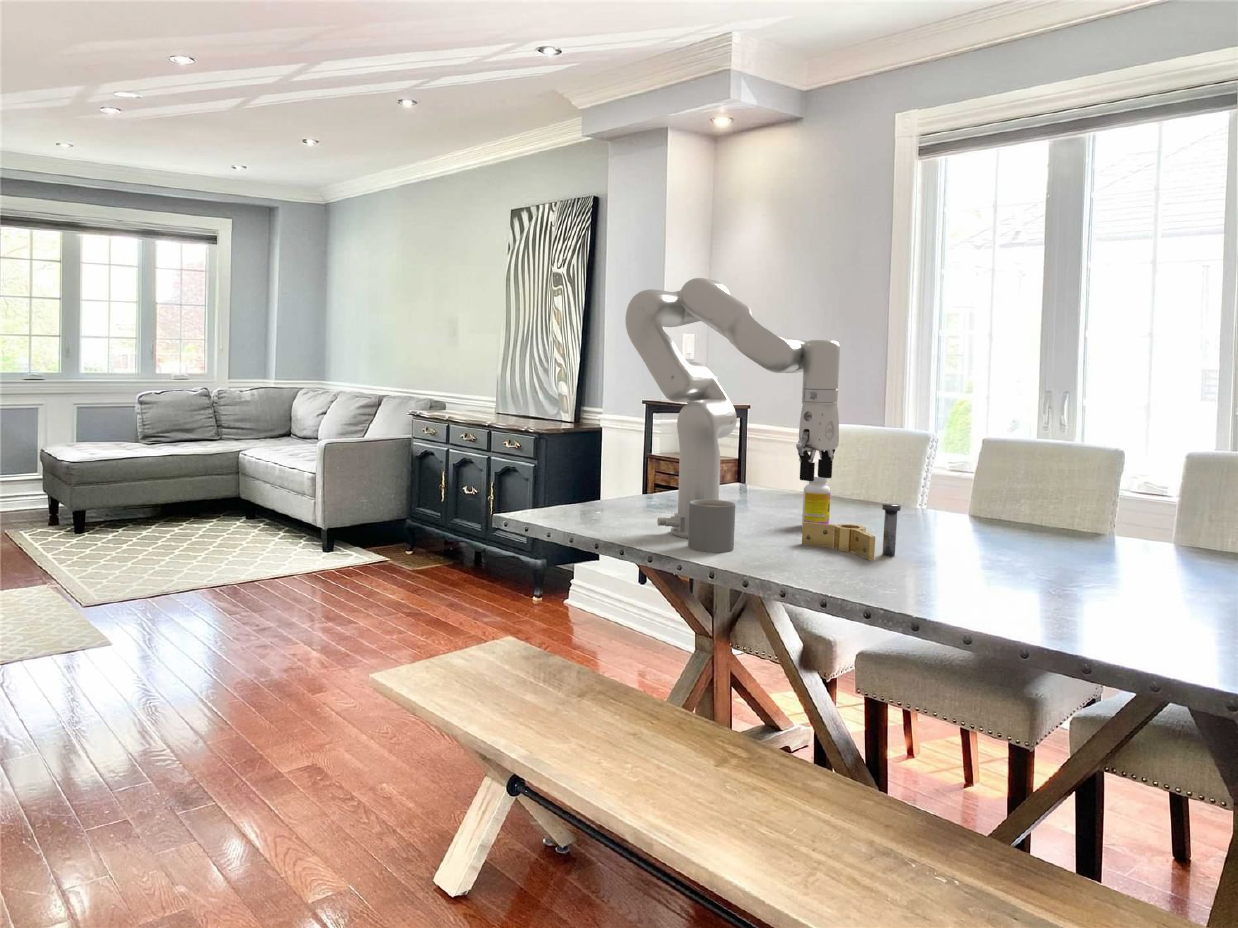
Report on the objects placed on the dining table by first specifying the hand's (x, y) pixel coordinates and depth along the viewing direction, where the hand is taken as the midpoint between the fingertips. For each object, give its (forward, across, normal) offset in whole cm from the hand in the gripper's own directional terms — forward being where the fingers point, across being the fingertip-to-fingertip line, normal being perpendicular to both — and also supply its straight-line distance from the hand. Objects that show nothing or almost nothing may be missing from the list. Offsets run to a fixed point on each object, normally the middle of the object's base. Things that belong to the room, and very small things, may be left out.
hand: (815, 478), depth 203 cm
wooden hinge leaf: (+16, +5, +2) cm, 17 cm away
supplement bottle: (+16, +27, +14) cm, 34 cm away
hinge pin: (+16, +8, -14) cm, 23 cm away
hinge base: (+16, +5, -8) cm, 18 cm away
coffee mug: (+16, -14, +17) cm, 27 cm away
